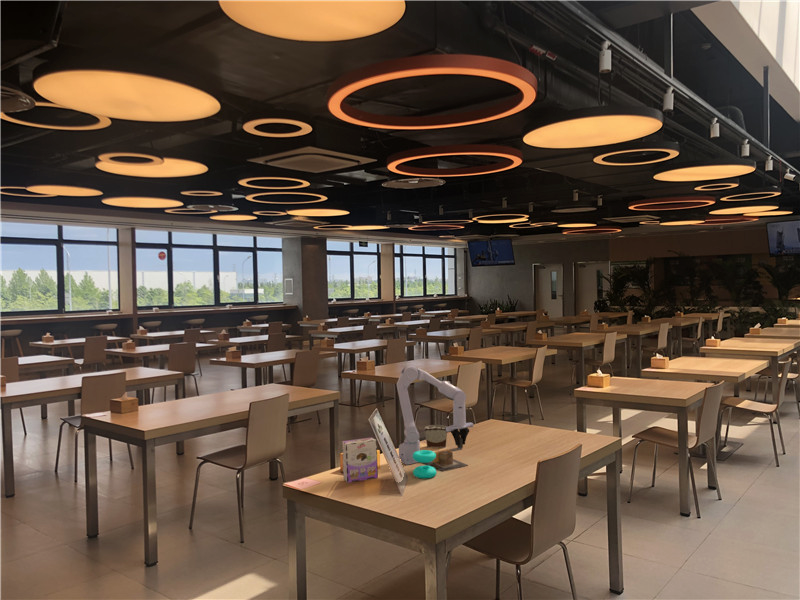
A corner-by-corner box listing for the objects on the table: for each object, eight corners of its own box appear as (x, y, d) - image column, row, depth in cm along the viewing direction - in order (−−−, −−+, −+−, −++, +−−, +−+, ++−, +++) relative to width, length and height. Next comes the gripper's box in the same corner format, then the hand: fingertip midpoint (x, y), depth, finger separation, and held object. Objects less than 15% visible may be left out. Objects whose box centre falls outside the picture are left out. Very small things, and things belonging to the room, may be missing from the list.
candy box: (373, 474, 255) (372, 436, 255) (378, 478, 250) (377, 439, 250) (343, 479, 250) (341, 440, 250) (346, 483, 245) (345, 443, 245)
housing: (444, 465, 262) (444, 453, 262) (439, 463, 266) (439, 451, 266) (453, 463, 265) (452, 451, 265) (447, 461, 268) (447, 449, 268)
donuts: (427, 447, 258) (440, 453, 249) (428, 470, 258) (441, 476, 250) (408, 451, 253) (420, 457, 244) (408, 474, 253) (421, 481, 245)
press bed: (442, 471, 256) (442, 465, 256) (419, 461, 271) (419, 455, 271) (467, 465, 263) (467, 459, 263) (444, 456, 279) (444, 450, 279)
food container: (449, 443, 301) (448, 424, 300) (448, 447, 294) (448, 427, 294) (424, 444, 302) (424, 424, 302) (424, 447, 296) (423, 427, 296)
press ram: (433, 462, 265) (432, 444, 265) (430, 461, 268) (429, 442, 267) (464, 456, 274) (463, 437, 274) (461, 454, 277) (460, 436, 276)
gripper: (451, 419, 267) (452, 449, 267) (477, 414, 275) (477, 443, 275) (442, 416, 273) (443, 445, 274) (467, 412, 281) (468, 440, 281)
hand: (460, 444), depth 275 cm, fingers closed on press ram, 2 cm apart
